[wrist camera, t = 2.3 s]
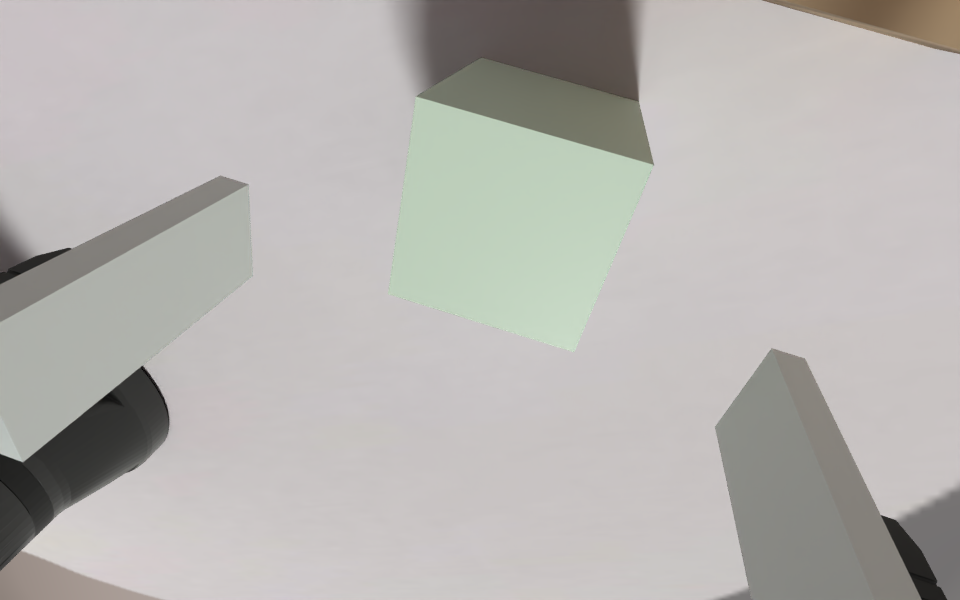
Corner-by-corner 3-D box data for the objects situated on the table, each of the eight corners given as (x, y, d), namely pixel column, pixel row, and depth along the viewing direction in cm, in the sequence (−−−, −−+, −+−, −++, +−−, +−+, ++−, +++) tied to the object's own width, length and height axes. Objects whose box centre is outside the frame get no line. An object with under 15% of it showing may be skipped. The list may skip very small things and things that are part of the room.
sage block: (451, 204, 26) (388, 294, 18) (481, 57, 22) (415, 96, 15) (584, 243, 26) (574, 352, 18) (638, 101, 22) (653, 164, 14)
